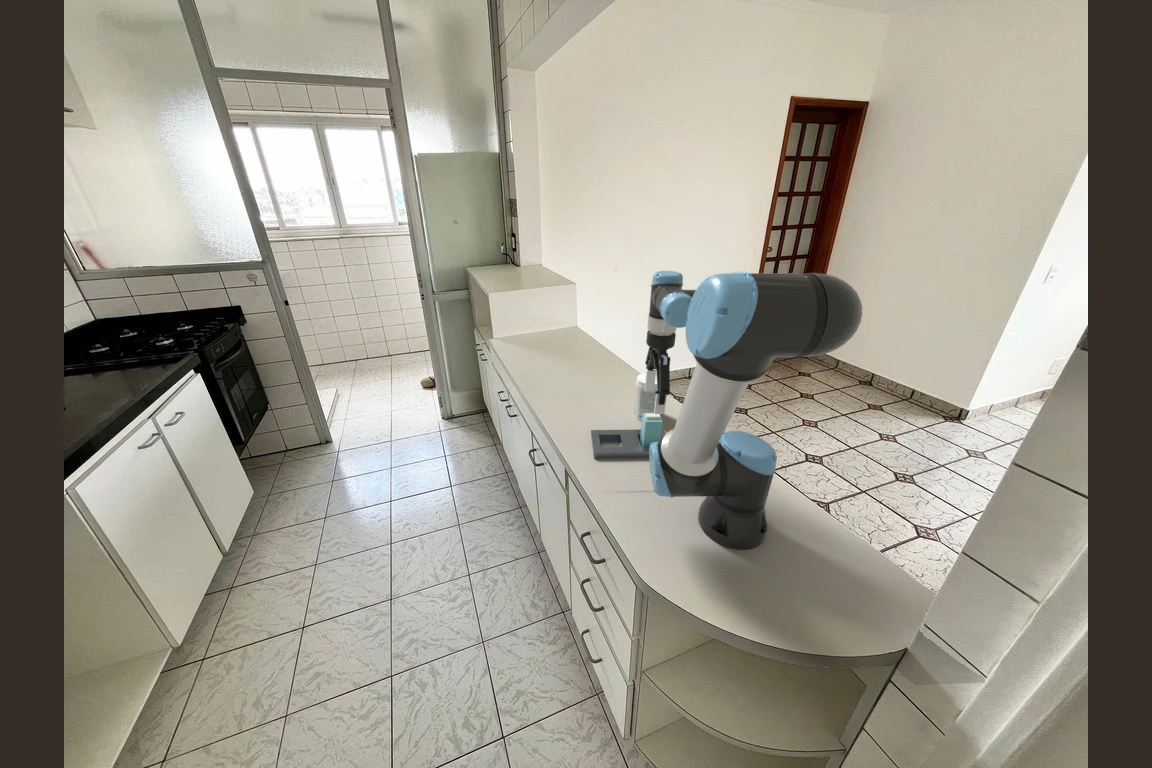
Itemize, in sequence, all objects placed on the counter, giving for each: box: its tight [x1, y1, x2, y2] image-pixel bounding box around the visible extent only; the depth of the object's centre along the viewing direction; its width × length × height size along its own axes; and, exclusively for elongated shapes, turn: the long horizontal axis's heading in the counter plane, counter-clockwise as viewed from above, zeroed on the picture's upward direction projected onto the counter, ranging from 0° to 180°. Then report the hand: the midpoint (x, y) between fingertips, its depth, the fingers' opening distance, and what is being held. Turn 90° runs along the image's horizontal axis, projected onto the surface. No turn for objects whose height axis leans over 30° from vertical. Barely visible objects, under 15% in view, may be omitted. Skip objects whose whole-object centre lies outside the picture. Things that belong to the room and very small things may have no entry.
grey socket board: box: [590, 428, 667, 459], centre depth 124 cm, size 12×23×2 cm, turn 92°
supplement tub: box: [633, 372, 663, 422], centre depth 138 cm, size 10×10×15 cm
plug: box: [640, 413, 664, 447], centre depth 123 cm, size 5×5×11 cm
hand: (653, 401), depth 119 cm, fingers open, 13 cm apart
